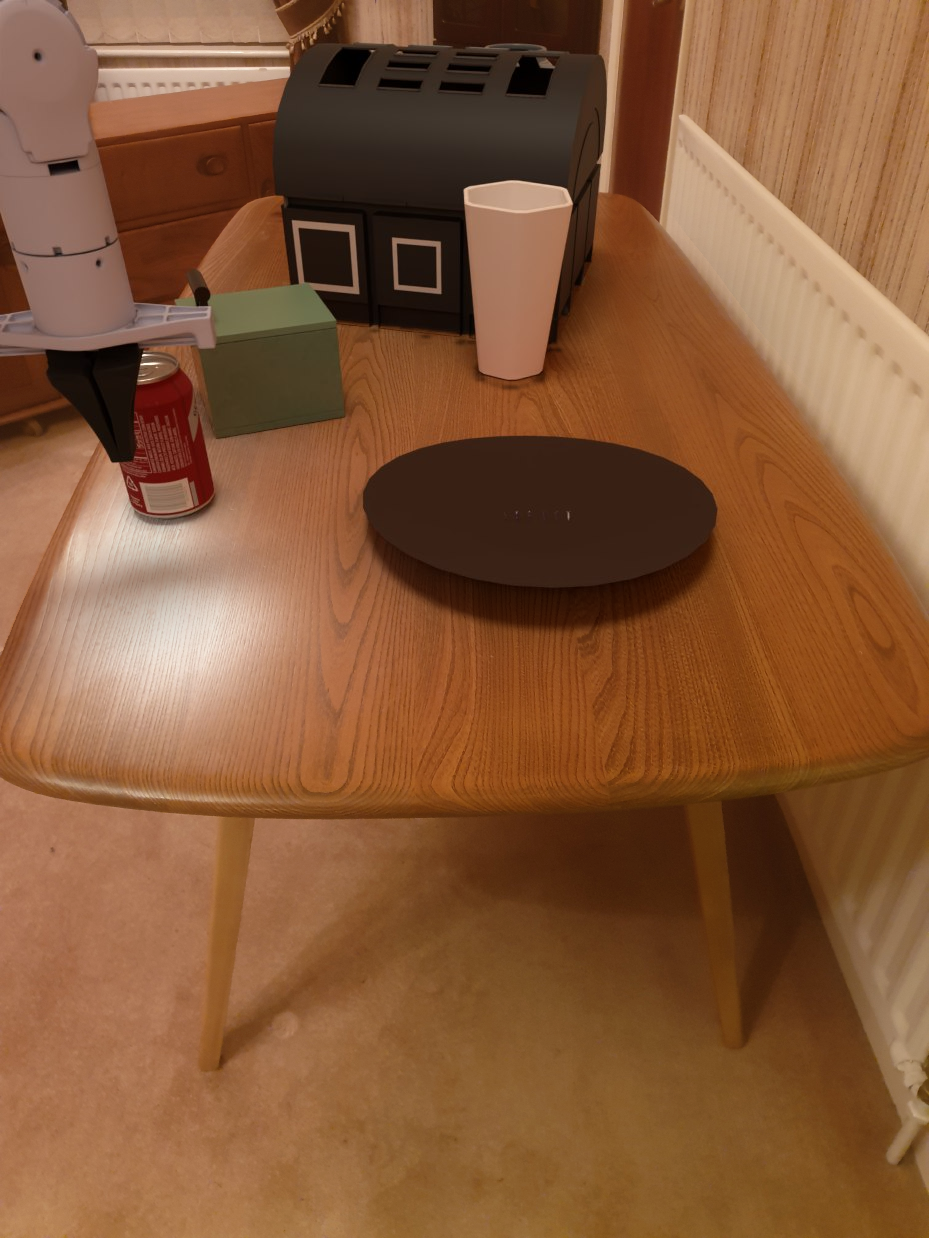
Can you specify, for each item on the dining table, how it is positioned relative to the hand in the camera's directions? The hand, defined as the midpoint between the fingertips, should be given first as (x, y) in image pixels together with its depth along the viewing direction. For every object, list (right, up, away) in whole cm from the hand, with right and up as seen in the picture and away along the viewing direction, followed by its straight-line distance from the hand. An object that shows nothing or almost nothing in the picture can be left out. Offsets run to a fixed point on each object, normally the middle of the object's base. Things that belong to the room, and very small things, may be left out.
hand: (124, 455), depth 58 cm
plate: (+29, -3, +13) cm, 32 cm away
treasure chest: (+21, +32, +55) cm, 67 cm away
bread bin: (+3, +10, +28) cm, 31 cm away
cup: (+28, +16, +36) cm, 48 cm away
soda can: (-1, -1, +15) cm, 15 cm away
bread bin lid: (+3, +17, +23) cm, 29 cm away
